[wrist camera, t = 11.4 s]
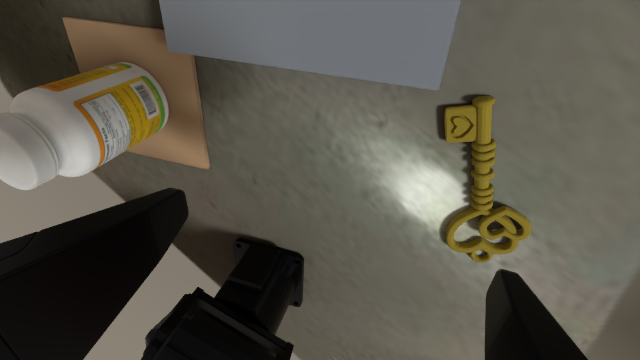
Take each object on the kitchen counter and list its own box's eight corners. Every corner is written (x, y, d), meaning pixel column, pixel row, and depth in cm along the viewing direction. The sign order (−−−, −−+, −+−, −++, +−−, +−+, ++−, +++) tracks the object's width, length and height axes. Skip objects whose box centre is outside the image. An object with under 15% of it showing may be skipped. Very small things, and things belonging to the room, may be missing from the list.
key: (439, 105, 19) (547, 95, 17) (440, 97, 20) (541, 86, 18) (446, 264, 24) (527, 270, 23) (446, 252, 25) (524, 256, 24)
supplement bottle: (103, 104, 27) (-39, 162, 19) (114, 44, 24) (-52, 84, 16) (161, 144, 27) (45, 218, 19) (179, 91, 24) (49, 153, 16)
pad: (209, 167, 27) (206, 169, 27) (107, 143, 30) (103, 145, 29) (190, 32, 22) (187, 33, 22) (67, 16, 24) (61, 17, 24)
